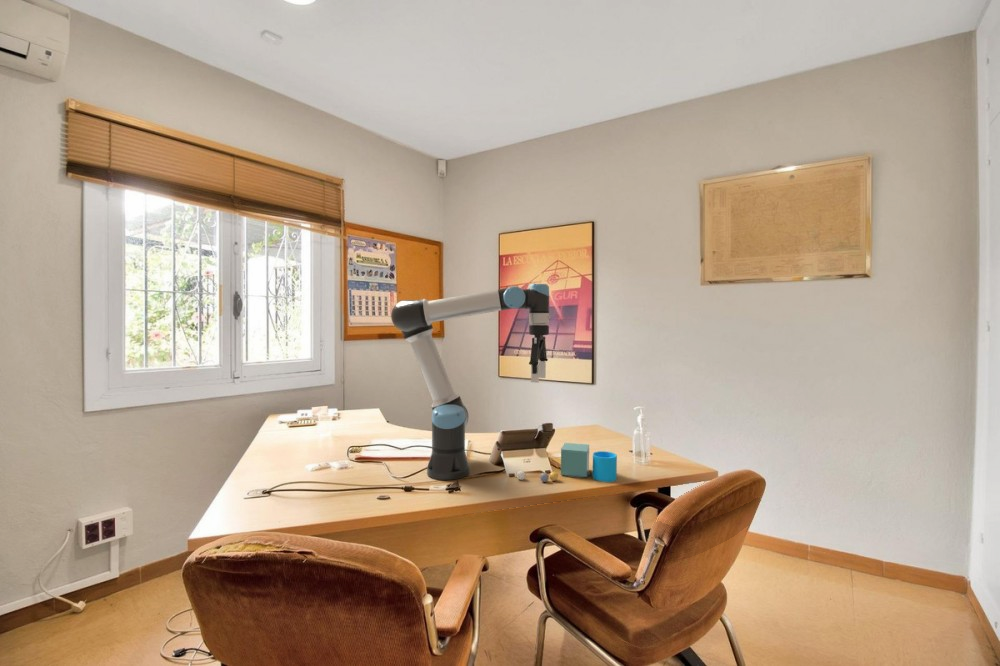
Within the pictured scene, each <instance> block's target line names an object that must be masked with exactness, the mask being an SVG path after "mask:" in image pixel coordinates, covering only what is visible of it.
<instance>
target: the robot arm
mask: <svg viewBox="0 0 1000 666" xmlns="http://www.w3.org/2000/svg"><path fill="white" fill-rule="evenodd" d="M520 309H522V310H523V309H524V310H529V316H528V319H529V320H528V323H529V326H528V327H529V328H528V330H529V331H528V332H529V333H528V334H529V335H530V336H534V337H532V338H531V351H530V360H529V362H528V365H530V366H531V368H530V369H531V370H530V374H531V376H530V382H531V383H535V384H536V383H540V382H539V381H540V379H545V378H546V370H547V369H546V365H547V364H546V362H548V360H549V359H548V356H547V348H546V347H547V346H546V345H547V344H546V336H547V335H549V333H550V326H549V325H548V324H550V321H549V320H550V319H551V315H550V286H549V285H548V284H546V283H532V284H530V285H529V288H525V289H523V288H521V287H520V286H515V285H514V286H509V287H506V288H505V287H504V288H500V289H493V290H488V291H482V292H476V293H475V292H474V293H470V294H464V295H458V296H452V297H445V298H440V299H433V300H428V299H426V298H421V299H404V300H403V299H402V300H400V301H398V302H397V303H396V304H395V305H394V306H393V308H392V309H391V315H390V320H391V322H392V324H393V325H394V327H395V328H397V329H398V330H399V331H401V333H402V336H403V340H405V341H406V342H408V343H410V345H411V347H412V350H413V354H414V355H415V357H416V361H417V363H418V366H419V368H420V371H421V372H422V376H423V379H424V381H425V383H426V387H427V389H428V391H429V394H430V397H431V399H432V403H431V409H432V412H431V413H432V414H431V455H430V457H429V461H428V464H427V467H426V475H427V476H428V477H430V478H432V479H436V480H441V481H442V480H443V481H445V480H446V481H448V480H449V481H450V480H451V481H452V480H458V479H463V478H466V477H467V476H468V475H469V474H470V471H471V469H470V463H469V460H468V457H467V454H466V448H465V447H466V446H465V445H466V443H465V442H466V428H467V425H468V422H469V411H468V409H467V407H466V406H465V405H464V403H463V401H462V398H461V396H460V394H459V393H457V392H455V391H454V388H453V386H452V383H451V381H450V378H449V375H448V373H447V370H446V368H445V365H444V363H443V361H442V358H441V356H440V354H439V350H438V348H437V345H436V343H435V341H434V338H433V336H432V335H433V331H434V326H433V324H432V323H434V322H435V323H436V322H440V321H441V322H442V321H449V320H452V319H458V318H463V317H465V318H466V317H471V316H476V315H482V314H489V313H494V312H499V311H506V310H520Z"/></svg>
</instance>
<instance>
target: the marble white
mask: <svg viewBox="0 0 1000 666" xmlns="http://www.w3.org/2000/svg"><path fill="white" fill-rule="evenodd" d="M516 478H517V479H518V480H520V481H522V480H525V478H526V473H525V472H524V471H523V470H518V471H517V473H516Z"/></svg>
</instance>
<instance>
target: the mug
mask: <svg viewBox="0 0 1000 666" xmlns="http://www.w3.org/2000/svg"><path fill="white" fill-rule="evenodd" d="M617 461H618V455H617V454H616V453H614V452H612V451H611V452H610V451H604V450H603V451H602V450H601V451H599V450H598V451H595V452H593V453H592V479H593V480H595V479H596V480H595V481H599V482H602V481H604V482H605V483H612V482H616V480H617V477H618V476H617V474H618V473H617V471H618V470H617V468H618V462H617ZM604 482H603V483H604Z"/></svg>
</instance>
